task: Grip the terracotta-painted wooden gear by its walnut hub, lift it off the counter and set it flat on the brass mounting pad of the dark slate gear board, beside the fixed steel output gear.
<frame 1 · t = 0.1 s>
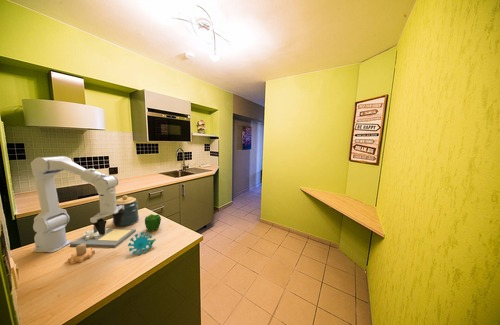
hand: (110, 229, 75), 10 cm above the counter, tool pointing down, fingers open, 7 cm apart
gear board: (105, 237, 84), on the counter
bell pepper: (152, 229, 95), on the counter
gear: (142, 250, 77), on the counter
wood gear: (82, 256, 71), on the counter
canister: (126, 222, 101), on the counter
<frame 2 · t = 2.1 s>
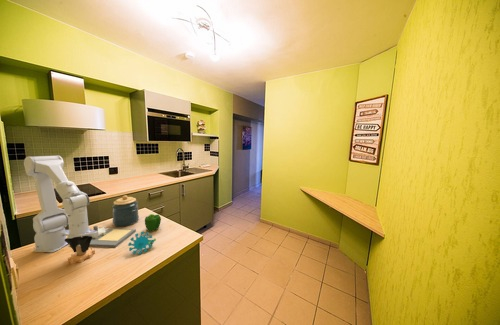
hand: (81, 250, 70), 3 cm above the counter, tool pointing down, fingers closed on wood gear, 3 cm apart
wood gear: (82, 256, 71), on the counter, touching gripper
everything else where it was.
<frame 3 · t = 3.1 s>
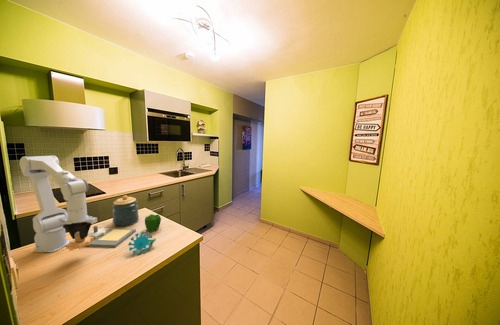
hand: (80, 237, 69), 9 cm above the counter, tool pointing down, fingers closed on wood gear, 3 cm apart
wood gear: (80, 244, 70), point 6 cm above the counter, touching gripper
everything else where it was.
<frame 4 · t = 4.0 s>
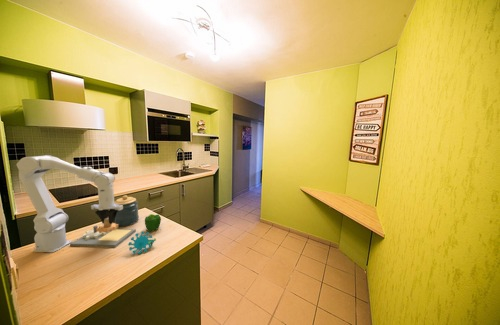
hand: (108, 222, 81), 10 cm above the counter, tool pointing down, fingers closed on wood gear, 3 cm apart
wood gear: (107, 229, 81), point 7 cm above the counter, tilted 6°, touching gripper
everything else where it was.
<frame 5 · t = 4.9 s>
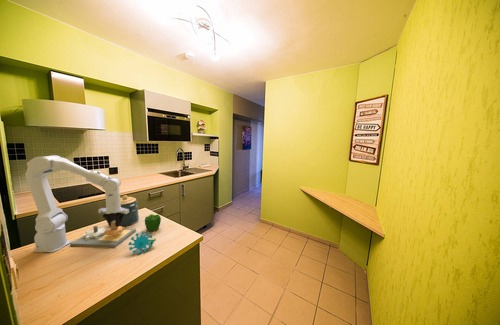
hand: (115, 225, 85), 7 cm above the counter, tool pointing down, fingers closed on wood gear, 3 cm apart
wood gear: (114, 232, 84), point 3 cm above the counter, tilted 7°, touching gripper
everything else where it was.
when the fingers open (5 cm above the counter, at t = 5.9 s): wood gear stays where it is, resting on gear board.
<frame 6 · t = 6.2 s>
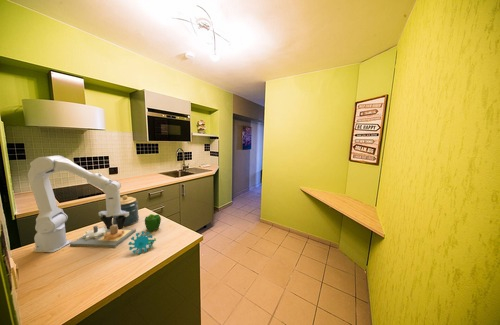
hand: (115, 228, 85), 5 cm above the counter, tool pointing down, fingers open, 5 cm apart
wood gear: (114, 235, 84), point 1 cm above the counter, touching gear board
everything else where it was.
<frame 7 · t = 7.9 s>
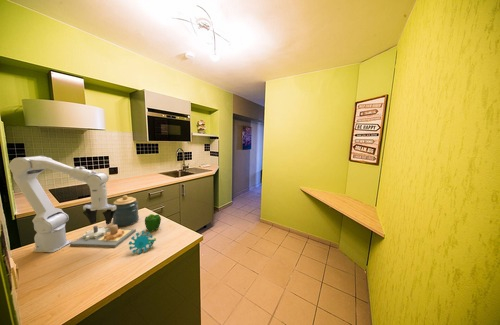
hand: (101, 223, 80), 10 cm above the counter, tool pointing down, fingers open, 7 cm apart
nothing on the counter moved.
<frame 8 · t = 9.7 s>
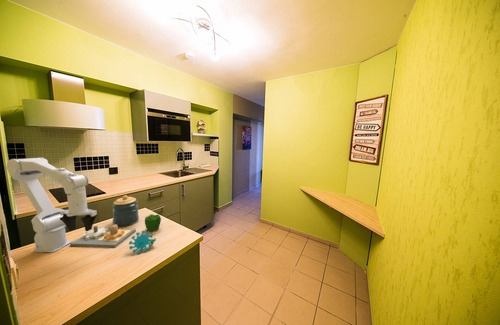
hand: (80, 229, 73), 10 cm above the counter, tool pointing down, fingers open, 7 cm apart
nothing on the counter moved.
at the end: wood gear 0.8 cm from the target spot on the gear board, point 1.4 cm above the gear board's base; wood gear tilted 0°; the gripper is holding nothing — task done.
